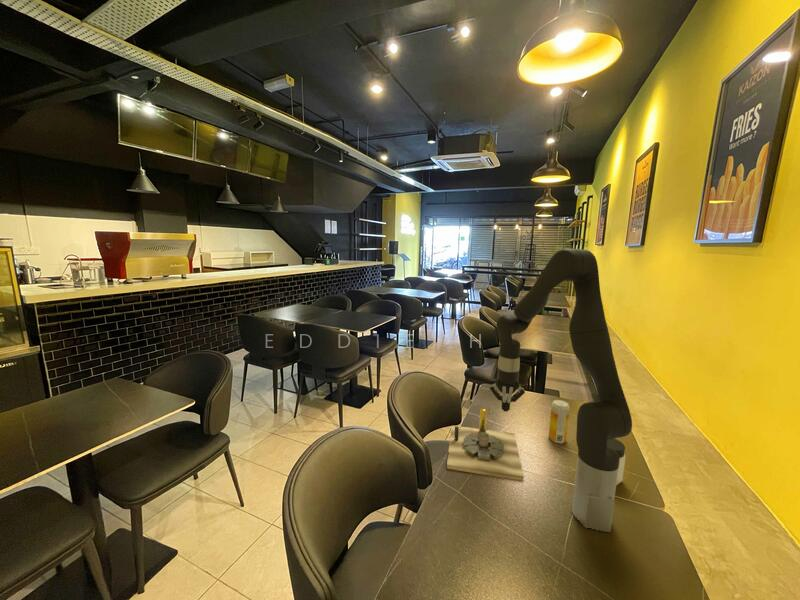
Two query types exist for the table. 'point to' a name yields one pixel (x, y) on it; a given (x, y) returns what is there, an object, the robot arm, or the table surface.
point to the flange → (494, 443)
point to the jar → (620, 450)
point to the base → (465, 462)
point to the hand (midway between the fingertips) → (505, 410)
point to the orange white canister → (559, 421)
